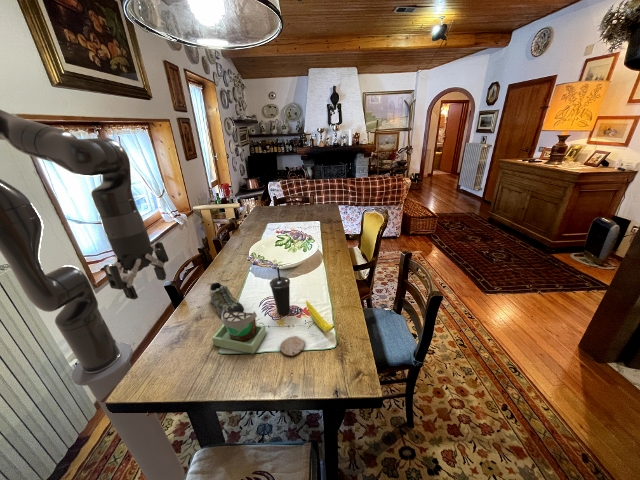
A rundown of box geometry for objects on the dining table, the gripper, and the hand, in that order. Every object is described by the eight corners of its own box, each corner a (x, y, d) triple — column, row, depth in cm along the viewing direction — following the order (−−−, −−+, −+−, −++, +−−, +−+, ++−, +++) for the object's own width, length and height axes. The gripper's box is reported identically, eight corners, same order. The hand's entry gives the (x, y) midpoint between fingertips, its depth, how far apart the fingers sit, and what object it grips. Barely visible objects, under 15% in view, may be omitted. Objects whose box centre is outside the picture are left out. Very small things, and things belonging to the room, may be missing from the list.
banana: (310, 308, 101) (309, 295, 98) (338, 339, 86) (337, 324, 84) (303, 311, 100) (302, 298, 97) (331, 342, 85) (330, 328, 82)
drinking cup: (276, 320, 96) (269, 275, 88) (272, 308, 103) (265, 265, 94) (295, 314, 99) (290, 270, 90) (290, 302, 105) (285, 260, 97)
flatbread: (286, 360, 79) (286, 358, 79) (276, 344, 85) (276, 342, 85) (309, 348, 83) (308, 346, 82) (298, 334, 89) (298, 332, 88)
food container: (219, 343, 86) (212, 321, 82) (228, 330, 91) (222, 308, 87) (253, 347, 84) (248, 324, 80) (260, 333, 89) (256, 311, 85)
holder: (214, 345, 86) (211, 337, 84) (229, 326, 94) (227, 319, 92) (253, 353, 82) (252, 345, 81) (266, 333, 90) (265, 325, 89)
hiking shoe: (229, 325, 94) (224, 305, 91) (204, 302, 108) (199, 283, 104) (249, 314, 100) (245, 294, 96) (222, 293, 113) (218, 275, 110)
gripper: (107, 244, 52) (135, 308, 58) (163, 220, 64) (181, 275, 71) (81, 242, 54) (110, 303, 60) (140, 219, 66) (159, 272, 73)
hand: (148, 288), depth 66 cm, fingers open, 8 cm apart
